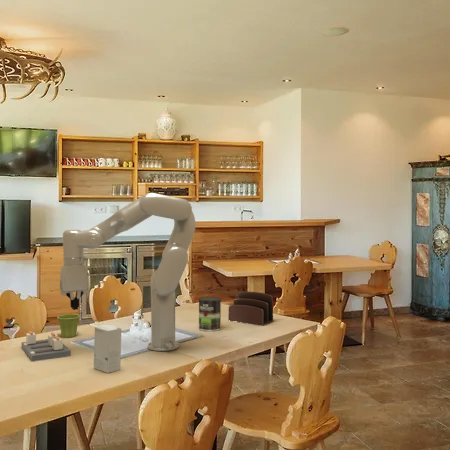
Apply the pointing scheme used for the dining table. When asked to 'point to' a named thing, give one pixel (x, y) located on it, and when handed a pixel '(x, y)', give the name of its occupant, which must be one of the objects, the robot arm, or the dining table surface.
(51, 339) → the tab
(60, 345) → the tab
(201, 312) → the coffee can
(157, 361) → the dining table surface
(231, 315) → the letter holder
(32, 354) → the switch bank
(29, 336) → the tab
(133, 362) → the dining table surface
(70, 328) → the plant pot
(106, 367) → the skincare box
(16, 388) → the dining table surface
